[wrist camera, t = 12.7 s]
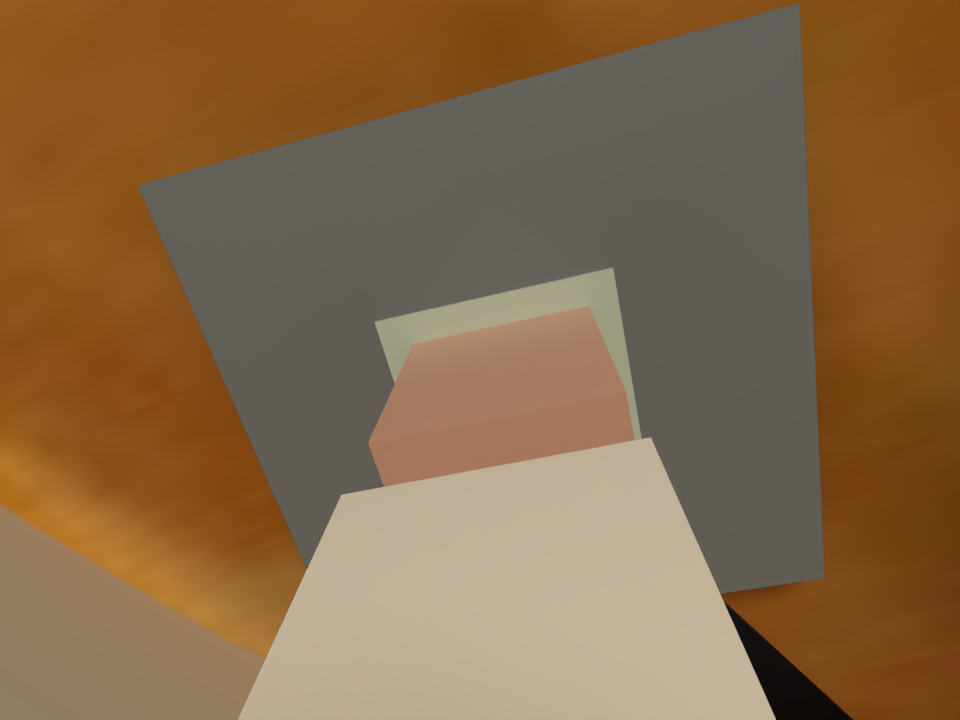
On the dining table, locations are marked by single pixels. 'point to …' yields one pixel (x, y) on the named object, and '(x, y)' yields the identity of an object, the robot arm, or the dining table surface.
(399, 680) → the cream block
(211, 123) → the dining table surface
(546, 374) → the terracotta block
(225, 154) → the dining table surface
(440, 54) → the dining table surface
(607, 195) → the charcoal plate
